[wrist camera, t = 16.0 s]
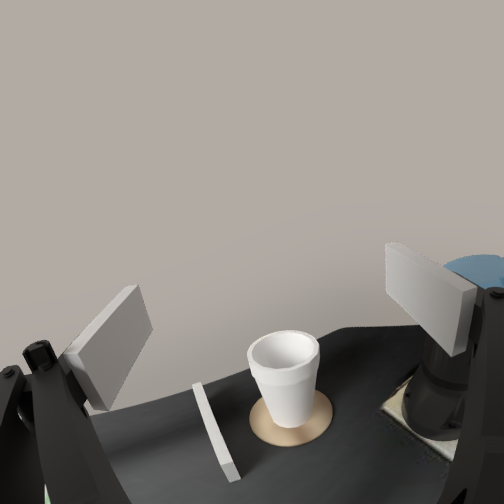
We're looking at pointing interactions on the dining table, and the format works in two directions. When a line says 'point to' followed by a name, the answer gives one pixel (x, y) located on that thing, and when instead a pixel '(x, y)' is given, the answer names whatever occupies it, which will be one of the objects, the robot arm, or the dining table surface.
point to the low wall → (215, 434)
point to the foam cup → (286, 374)
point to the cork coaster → (291, 436)
